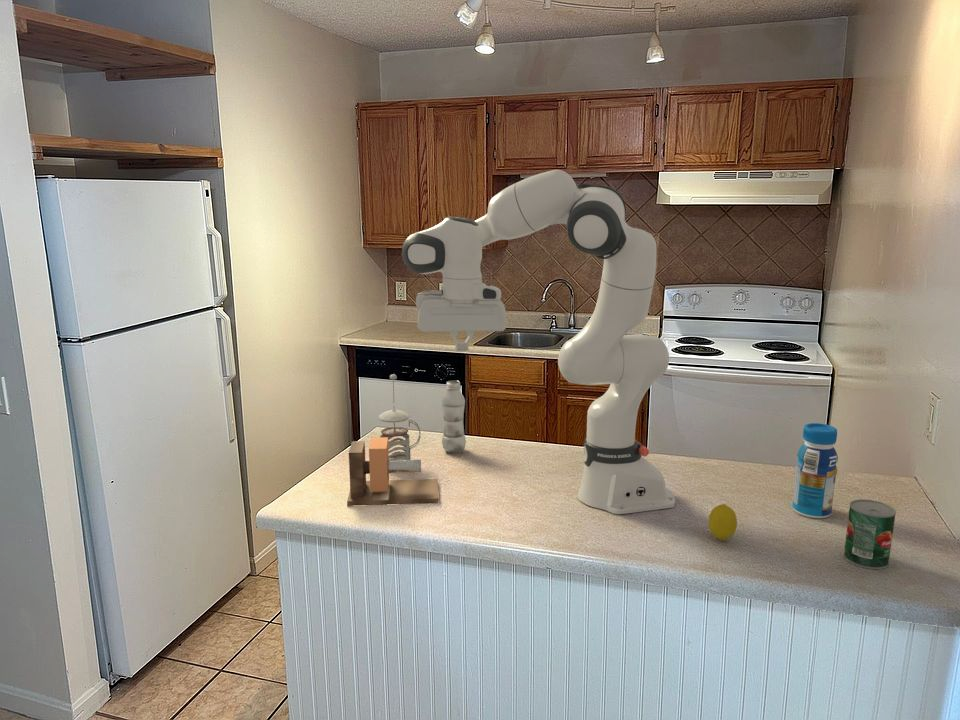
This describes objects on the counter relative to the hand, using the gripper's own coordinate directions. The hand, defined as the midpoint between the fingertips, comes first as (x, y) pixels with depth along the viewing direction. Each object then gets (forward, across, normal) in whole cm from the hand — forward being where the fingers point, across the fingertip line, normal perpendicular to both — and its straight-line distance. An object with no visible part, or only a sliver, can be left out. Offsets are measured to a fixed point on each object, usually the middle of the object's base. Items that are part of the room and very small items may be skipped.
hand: (461, 350), depth 164 cm
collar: (+33, -19, +1) cm, 38 cm away
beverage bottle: (+34, +78, -17) cm, 87 cm away
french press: (+36, -15, +20) cm, 44 cm away
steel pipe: (+30, -17, +1) cm, 34 cm away
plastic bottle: (+35, 0, +30) cm, 46 cm away
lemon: (+35, +52, -29) cm, 69 cm away
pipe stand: (+35, -16, +1) cm, 39 cm away
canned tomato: (+34, +77, -39) cm, 93 cm away
